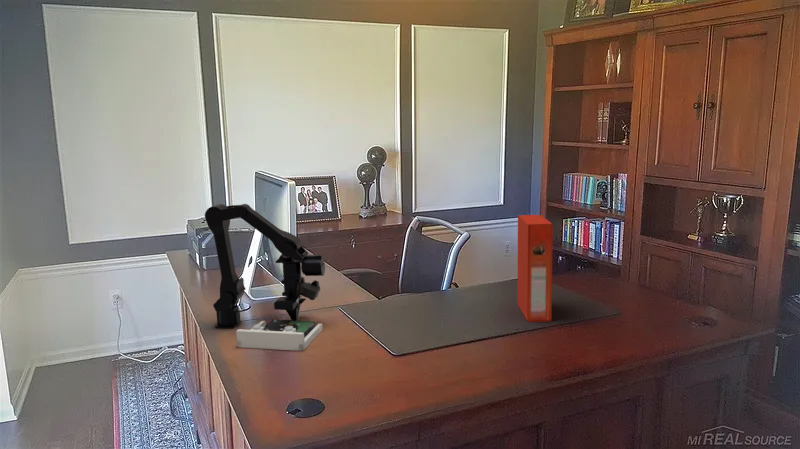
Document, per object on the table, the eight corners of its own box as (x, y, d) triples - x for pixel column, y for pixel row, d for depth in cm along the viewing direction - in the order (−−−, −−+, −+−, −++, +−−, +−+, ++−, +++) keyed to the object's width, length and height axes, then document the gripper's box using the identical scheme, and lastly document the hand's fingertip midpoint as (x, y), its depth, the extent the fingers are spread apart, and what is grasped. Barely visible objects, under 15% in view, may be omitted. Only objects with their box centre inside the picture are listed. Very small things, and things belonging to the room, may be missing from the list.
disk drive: (260, 339, 184) (306, 340, 181) (259, 330, 183) (305, 331, 181) (272, 327, 194) (316, 328, 191) (271, 319, 193) (315, 319, 191)
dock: (237, 347, 176) (236, 328, 175) (262, 326, 192) (261, 309, 191) (303, 350, 172) (302, 331, 171) (322, 329, 188) (321, 312, 187)
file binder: (526, 321, 191) (527, 224, 186) (516, 305, 208) (517, 215, 203) (551, 321, 191) (553, 223, 186) (539, 304, 208) (541, 214, 203)
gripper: (306, 284, 180) (309, 333, 182) (325, 268, 198) (327, 313, 200) (271, 283, 182) (274, 332, 184) (293, 268, 200) (296, 312, 203)
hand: (295, 322), depth 193 cm, fingers closed
